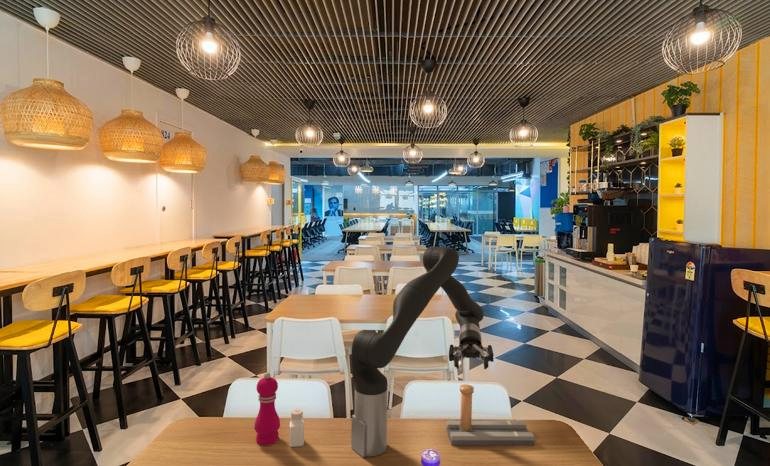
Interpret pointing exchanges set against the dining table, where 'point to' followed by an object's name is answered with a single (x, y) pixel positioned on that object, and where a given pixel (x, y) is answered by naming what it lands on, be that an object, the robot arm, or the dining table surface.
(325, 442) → the dining table surface
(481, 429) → the grey stand base
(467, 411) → the wooden peg
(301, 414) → the pepper shaker
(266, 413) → the pepper mill
